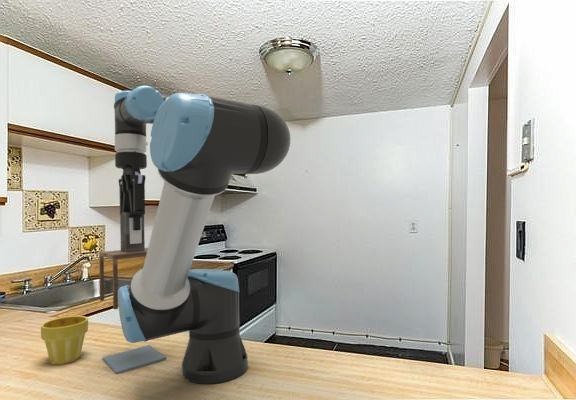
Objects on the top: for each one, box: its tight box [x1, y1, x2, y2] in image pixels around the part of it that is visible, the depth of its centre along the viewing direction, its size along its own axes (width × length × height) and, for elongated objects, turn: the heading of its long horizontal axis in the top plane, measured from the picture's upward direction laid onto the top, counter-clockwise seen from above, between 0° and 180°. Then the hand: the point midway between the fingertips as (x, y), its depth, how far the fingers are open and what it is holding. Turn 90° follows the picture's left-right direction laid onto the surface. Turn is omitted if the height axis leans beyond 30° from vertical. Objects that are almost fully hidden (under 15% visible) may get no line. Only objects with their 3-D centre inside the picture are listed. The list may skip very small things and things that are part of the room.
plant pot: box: [40, 315, 89, 365], centre depth 94 cm, size 10×10×10 cm
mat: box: [101, 344, 168, 375], centre depth 92 cm, size 12×12×1 cm
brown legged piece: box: [98, 212, 148, 310], centre depth 93 cm, size 13×13×22 cm
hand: (132, 242), depth 93 cm, fingers closed on brown legged piece, 4 cm apart
